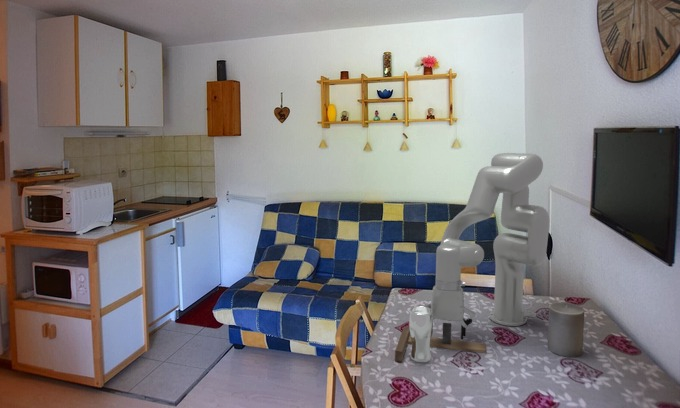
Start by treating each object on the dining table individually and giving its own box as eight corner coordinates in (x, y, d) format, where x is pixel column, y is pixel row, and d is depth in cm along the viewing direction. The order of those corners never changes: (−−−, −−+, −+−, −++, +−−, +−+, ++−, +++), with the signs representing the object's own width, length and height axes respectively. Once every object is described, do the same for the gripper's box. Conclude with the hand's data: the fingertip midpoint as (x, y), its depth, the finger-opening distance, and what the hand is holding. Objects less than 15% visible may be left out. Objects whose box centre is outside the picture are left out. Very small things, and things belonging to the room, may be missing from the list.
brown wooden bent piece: (485, 345, 138) (486, 325, 137) (487, 374, 121) (488, 351, 120) (404, 336, 146) (404, 316, 145) (395, 361, 129) (395, 340, 128)
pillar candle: (579, 345, 138) (581, 299, 135) (585, 359, 128) (587, 311, 126) (545, 341, 141) (547, 296, 139) (548, 355, 132) (551, 307, 130)
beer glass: (432, 364, 127) (433, 315, 125) (408, 362, 129) (408, 314, 126) (432, 353, 134) (433, 306, 132) (409, 351, 135) (409, 305, 133)
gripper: (476, 282, 137) (474, 334, 140) (421, 278, 142) (420, 328, 145) (476, 290, 130) (474, 344, 133) (418, 285, 135) (417, 337, 138)
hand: (446, 335), depth 139 cm, fingers open, 9 cm apart
